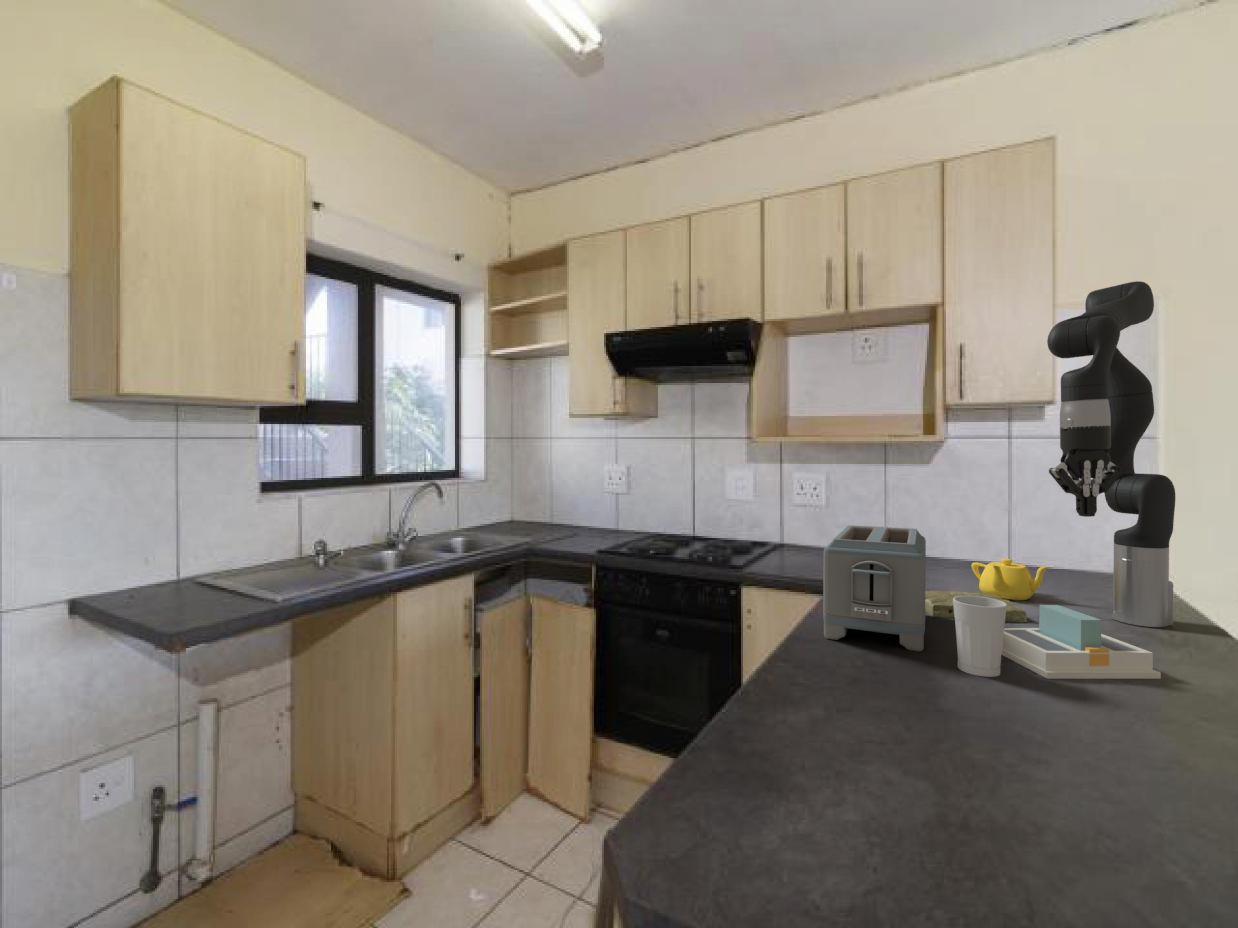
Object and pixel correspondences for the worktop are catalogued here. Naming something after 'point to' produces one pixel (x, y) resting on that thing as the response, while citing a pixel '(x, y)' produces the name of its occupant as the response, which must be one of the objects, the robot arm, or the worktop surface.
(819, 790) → the worktop surface
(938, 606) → the decorative tile
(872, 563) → the toaster
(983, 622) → the cup
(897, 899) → the worktop surface
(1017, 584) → the teapot
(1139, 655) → the tray
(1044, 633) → the panel
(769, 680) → the worktop surface
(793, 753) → the worktop surface
